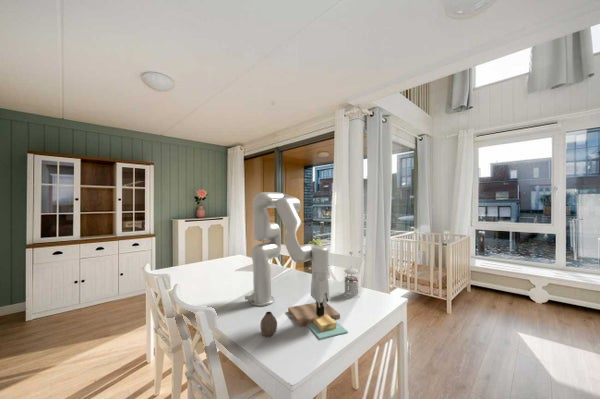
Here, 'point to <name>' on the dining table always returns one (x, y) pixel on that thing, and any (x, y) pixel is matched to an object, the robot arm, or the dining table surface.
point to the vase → (268, 324)
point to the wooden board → (310, 313)
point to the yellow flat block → (324, 323)
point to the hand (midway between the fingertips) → (320, 314)
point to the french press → (351, 283)
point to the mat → (329, 333)
